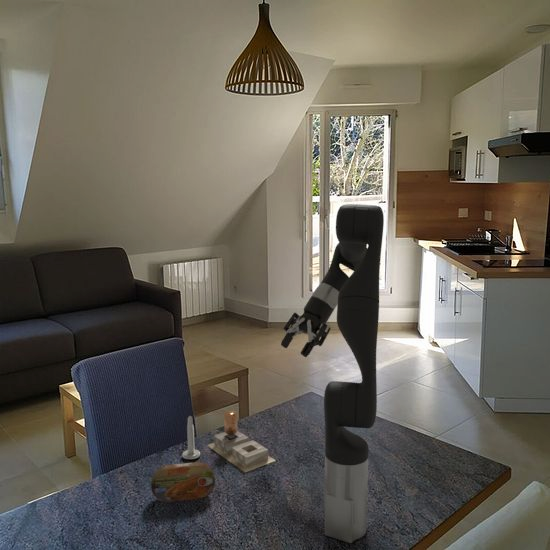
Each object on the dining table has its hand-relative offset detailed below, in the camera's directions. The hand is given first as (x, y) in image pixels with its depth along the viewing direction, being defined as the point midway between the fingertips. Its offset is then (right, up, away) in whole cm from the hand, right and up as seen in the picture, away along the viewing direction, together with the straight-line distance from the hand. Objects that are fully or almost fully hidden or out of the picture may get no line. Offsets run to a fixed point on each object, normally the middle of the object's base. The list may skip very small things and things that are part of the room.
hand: (293, 351), depth 155 cm
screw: (-28, -30, -3) cm, 41 cm away
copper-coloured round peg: (-17, -27, +3) cm, 32 cm away
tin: (-27, -33, -20) cm, 47 cm away
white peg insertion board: (-14, -29, -1) cm, 32 cm away
